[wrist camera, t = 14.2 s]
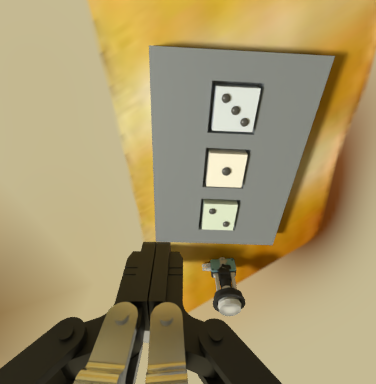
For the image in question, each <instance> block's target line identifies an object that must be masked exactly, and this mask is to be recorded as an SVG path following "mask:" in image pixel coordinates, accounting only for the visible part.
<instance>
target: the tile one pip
mask: <svg viewBox="0 0 376 384" xmlns="http://www.w3.org/2000/svg"><path fill="white" fill-rule="evenodd" d="M247 156H248V154H247V153H246V151H245V149H222V148H208V155H207V165H206V175H205V180H206V186H211V187H237V188H241V187H242V182H243V177H244V172H245V166H246V161H247Z"/></svg>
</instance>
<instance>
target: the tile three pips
mask: <svg viewBox="0 0 376 384" xmlns="http://www.w3.org/2000/svg"><path fill="white" fill-rule="evenodd" d="M260 90H261V88H259V87H257V86H250V85H231V84H214V94H213V104H212V114H211V124H210V125H211V128H212V130H213V131H235V132H252V131H253V126H254V121H255V116H256V111H257V106H258V101H259V95H260Z"/></svg>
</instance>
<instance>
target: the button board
mask: <svg viewBox="0 0 376 384" xmlns="http://www.w3.org/2000/svg"><path fill="white" fill-rule="evenodd" d="M334 58H335V56H325V55H308V54H290V53H272V52H254V51H236V50H219V49H201V48H183V47H165V46H149V60H150V88H151V116H152V145H153V173H154V201H155V230H156V242H188V243H221V244H254V245H273V242H274V239H275V236H276V233H277V230H278V227H279V224H280V221H281V218H282V215H283V212H284V209H285V206H286V203H287V200H288V197H289V194H290V191H291V188H292V185H293V182H294V179H295V176H296V173H297V170H298V167H299V163H300V160H301V157H302V154H303V151H304V148H305V145H306V142H307V139H308V136H309V133H310V130H311V127H312V124H313V121H314V118H315V115H316V112H317V109H318V106H319V103H320V100H321V97H322V94H323V91H324V88H325V85H326V82H327V79H328V76H329V73H330V70H331V67H332V64H333V61H334ZM214 84H231V85H250V86H257V87H259V88H261V90H260V95H259V101H258V106H257V111H256V116H255V121H254V126H253V131H252V132H235V131H213V130H212V128H211V125H210V124H211V114H212V104H213V94H214ZM208 148H222V149H245V151H246V153H247V154H248V156H247V161H246V166H245V172H244V177H243V182H242V187H241V188H237V187H211V186H206V180H205V175H206V165H207V155H208ZM203 199H225V200H236V201H237V204H238V207H237V212H236V217H235V222H234V227H233V230H204V229H202V225H201V216H202V206H203Z"/></svg>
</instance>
